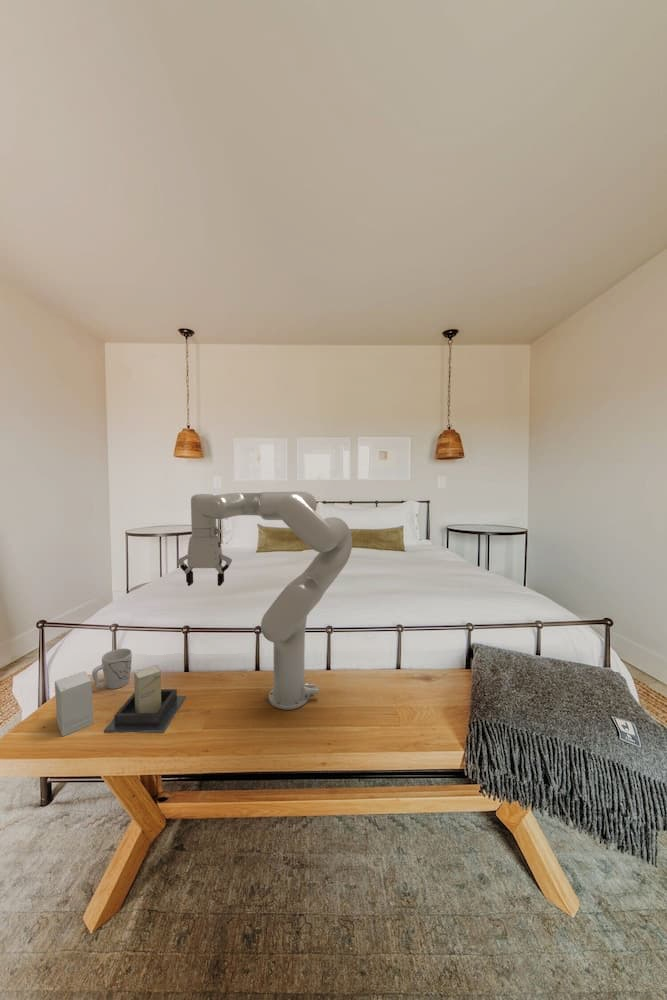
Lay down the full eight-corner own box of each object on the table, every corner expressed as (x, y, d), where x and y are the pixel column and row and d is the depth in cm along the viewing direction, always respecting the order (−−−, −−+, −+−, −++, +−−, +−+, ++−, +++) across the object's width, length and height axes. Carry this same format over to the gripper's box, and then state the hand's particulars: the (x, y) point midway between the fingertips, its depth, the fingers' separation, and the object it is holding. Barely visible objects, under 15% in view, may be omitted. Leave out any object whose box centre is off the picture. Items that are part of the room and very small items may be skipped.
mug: (99, 699, 113) (97, 668, 112) (88, 689, 118) (86, 659, 117) (137, 682, 122) (136, 653, 121) (125, 673, 127) (124, 645, 127)
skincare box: (138, 720, 103) (137, 678, 102) (134, 712, 106) (133, 672, 105) (162, 710, 107) (161, 670, 106) (157, 703, 110) (156, 664, 109)
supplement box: (94, 724, 102) (92, 680, 101) (61, 737, 97) (59, 692, 96) (87, 711, 108) (85, 670, 107) (56, 723, 102) (53, 680, 101)
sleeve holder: (185, 698, 114) (185, 686, 114) (163, 732, 99) (163, 719, 99) (133, 698, 114) (133, 686, 114) (104, 732, 99) (103, 719, 99)
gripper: (234, 530, 122) (235, 581, 124) (181, 530, 122) (183, 581, 123) (228, 534, 115) (228, 588, 116) (172, 534, 115) (173, 588, 116)
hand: (205, 584), depth 120 cm, fingers open, 9 cm apart
